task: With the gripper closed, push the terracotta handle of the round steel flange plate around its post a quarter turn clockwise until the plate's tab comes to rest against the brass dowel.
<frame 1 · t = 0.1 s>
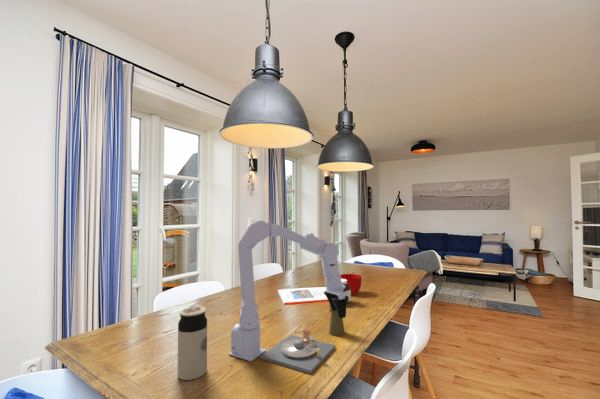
hand: (338, 313, 99), 11 cm above the table, tool pointing down, fingers open, 7 cm apart
turntable base: (299, 353, 92), on the table
cork: (336, 333, 108), on the table
flange plate: (301, 341, 94), point 3 cm above the table, hinge at 0.0°
spread jar: (340, 304, 144), on the table
travel mug: (192, 374, 81), on the table
ceramic cup: (347, 293, 163), on the table
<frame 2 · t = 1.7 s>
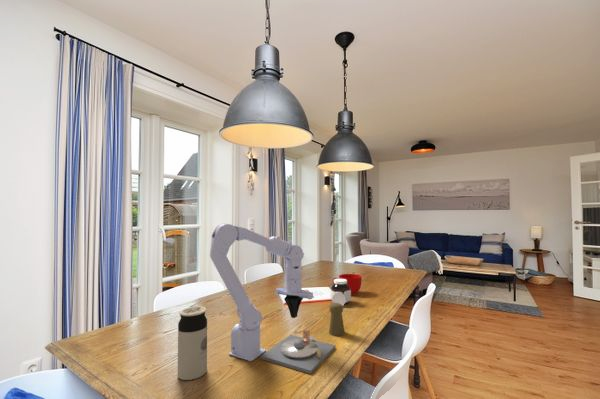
hand: (294, 316, 100), 9 cm above the table, tool pointing down, fingers closed
nothing on the table moved.
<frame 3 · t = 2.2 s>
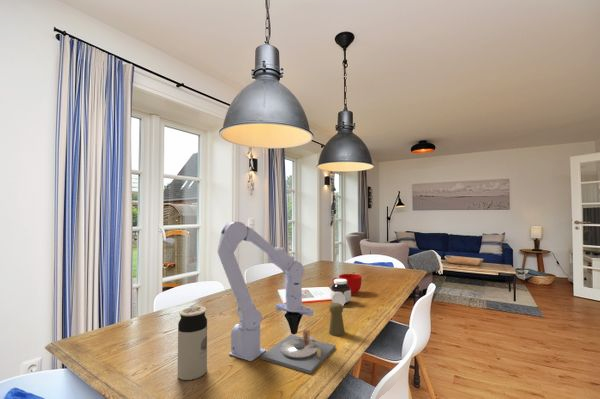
hand: (294, 333, 99), 4 cm above the table, tool pointing down, fingers closed
nothing on the table moved.
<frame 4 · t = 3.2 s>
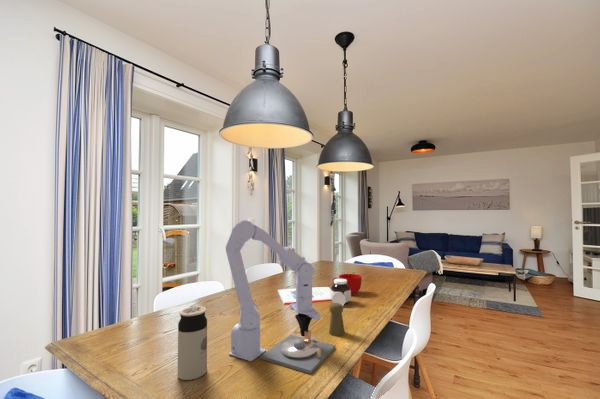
hand: (304, 335, 97), 4 cm above the table, tool pointing down, fingers closed, pressing on flange plate
flange plate: (301, 341, 94), point 3 cm above the table, hinge at -5.4°, touching gripper
everything else where it was.
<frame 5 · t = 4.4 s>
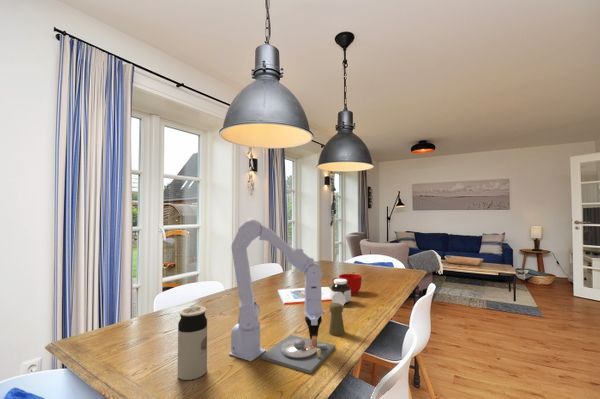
hand: (313, 339, 94), 4 cm above the table, tool pointing down, fingers closed, pressing on flange plate
flange plate: (303, 342, 93), point 3 cm above the table, hinge at -53.2°, touching gripper
everything else where it was.
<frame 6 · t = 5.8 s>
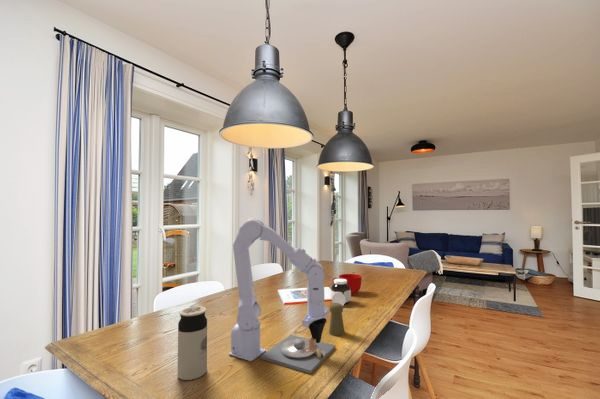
hand: (316, 341, 92), 4 cm above the table, tool pointing down, fingers closed
flange plate: (303, 343, 92), point 3 cm above the table, hinge at -88.8°
everything else where it was.
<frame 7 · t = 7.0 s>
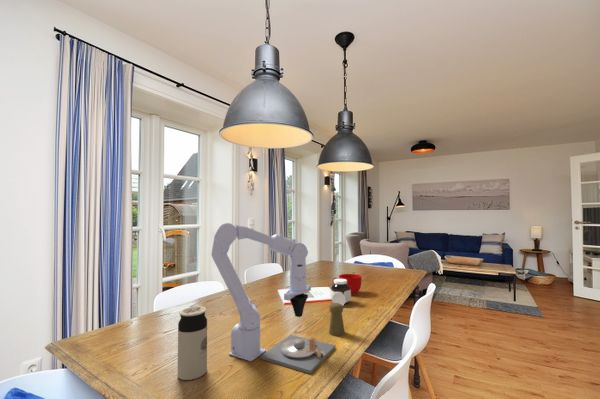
hand: (298, 316, 98), 10 cm above the table, tool pointing down, fingers closed
nothing on the table moved.
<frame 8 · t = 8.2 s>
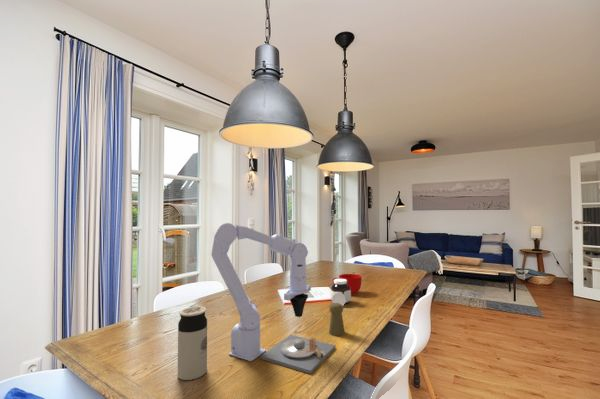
hand: (298, 316, 98), 10 cm above the table, tool pointing down, fingers closed
nothing on the table moved.
at the end: flange plate at -89° (first picture: +0°); cork moved 0.2 cm from its start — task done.
